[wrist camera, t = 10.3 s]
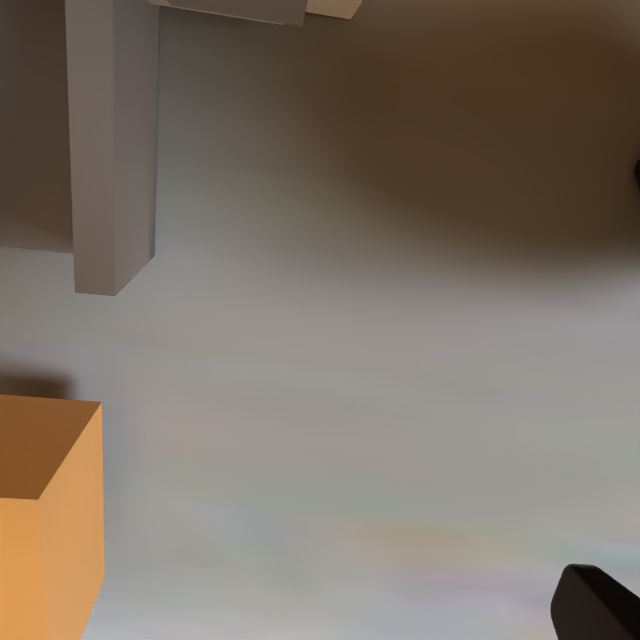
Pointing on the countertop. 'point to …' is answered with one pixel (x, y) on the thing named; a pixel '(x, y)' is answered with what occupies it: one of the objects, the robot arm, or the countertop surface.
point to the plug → (50, 516)
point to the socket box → (94, 124)
